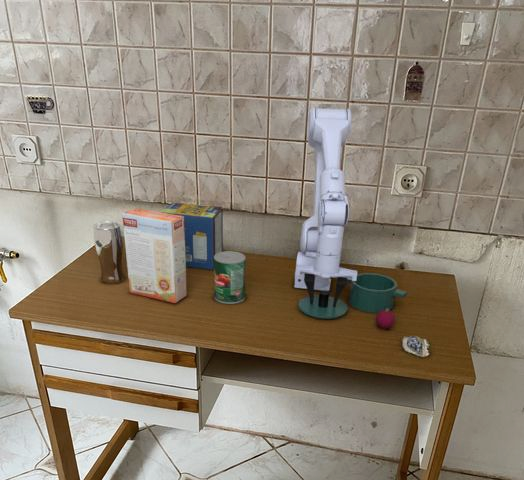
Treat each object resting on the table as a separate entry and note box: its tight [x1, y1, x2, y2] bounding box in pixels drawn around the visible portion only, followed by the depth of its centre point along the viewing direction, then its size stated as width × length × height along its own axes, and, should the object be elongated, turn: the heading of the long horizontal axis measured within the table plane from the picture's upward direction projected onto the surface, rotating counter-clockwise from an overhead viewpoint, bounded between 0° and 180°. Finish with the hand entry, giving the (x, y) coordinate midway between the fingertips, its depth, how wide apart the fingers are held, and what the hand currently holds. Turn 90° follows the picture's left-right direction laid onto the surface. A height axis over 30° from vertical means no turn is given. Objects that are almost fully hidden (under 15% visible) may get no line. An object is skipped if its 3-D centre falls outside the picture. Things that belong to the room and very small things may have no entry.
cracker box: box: [121, 207, 188, 304], centre depth 128 cm, size 14×6×21 cm, turn 65°
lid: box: [297, 290, 348, 320], centre depth 128 cm, size 12×12×5 cm
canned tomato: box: [213, 250, 247, 305], centre depth 131 cm, size 8×8×11 cm
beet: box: [375, 308, 396, 330], centre depth 121 cm, size 4×4×5 cm
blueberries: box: [401, 335, 430, 358], centre depth 114 cm, size 7×8×2 cm
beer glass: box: [93, 220, 125, 285], centre depth 136 cm, size 7×7×15 cm
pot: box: [347, 272, 408, 314], centre depth 132 cm, size 11×17×6 cm
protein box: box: [160, 202, 224, 271], centre depth 150 cm, size 10×15×16 cm
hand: (323, 303), depth 129 cm, fingers open, 5 cm apart
